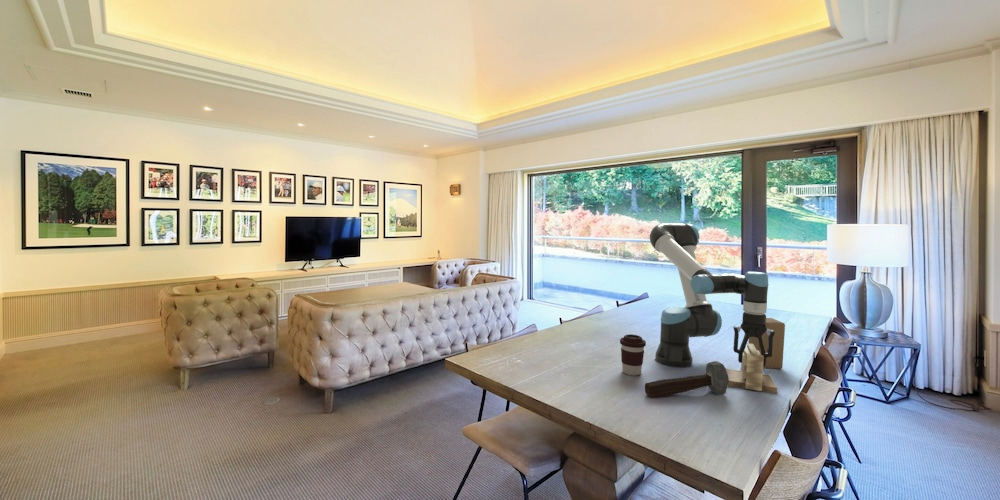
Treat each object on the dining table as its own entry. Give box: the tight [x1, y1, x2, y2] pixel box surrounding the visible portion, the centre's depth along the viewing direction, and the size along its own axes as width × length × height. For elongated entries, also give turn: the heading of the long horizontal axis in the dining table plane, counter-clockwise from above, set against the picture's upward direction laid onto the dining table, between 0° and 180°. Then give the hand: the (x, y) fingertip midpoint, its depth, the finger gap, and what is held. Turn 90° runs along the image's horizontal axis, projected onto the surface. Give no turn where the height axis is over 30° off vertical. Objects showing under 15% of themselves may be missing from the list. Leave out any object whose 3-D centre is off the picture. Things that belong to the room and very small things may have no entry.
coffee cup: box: [619, 333, 647, 377], centre depth 164 cm, size 10×10×15 cm
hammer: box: [644, 360, 729, 399], centre depth 144 cm, size 5×11×30 cm
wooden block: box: [747, 317, 786, 370], centre depth 175 cm, size 10×10×20 cm
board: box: [725, 367, 778, 394], centre depth 156 cm, size 20×14×2 cm
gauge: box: [742, 342, 764, 392], centre depth 154 cm, size 5×14×13 cm, turn 155°
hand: (751, 372), depth 155 cm, fingers closed on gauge, 5 cm apart
